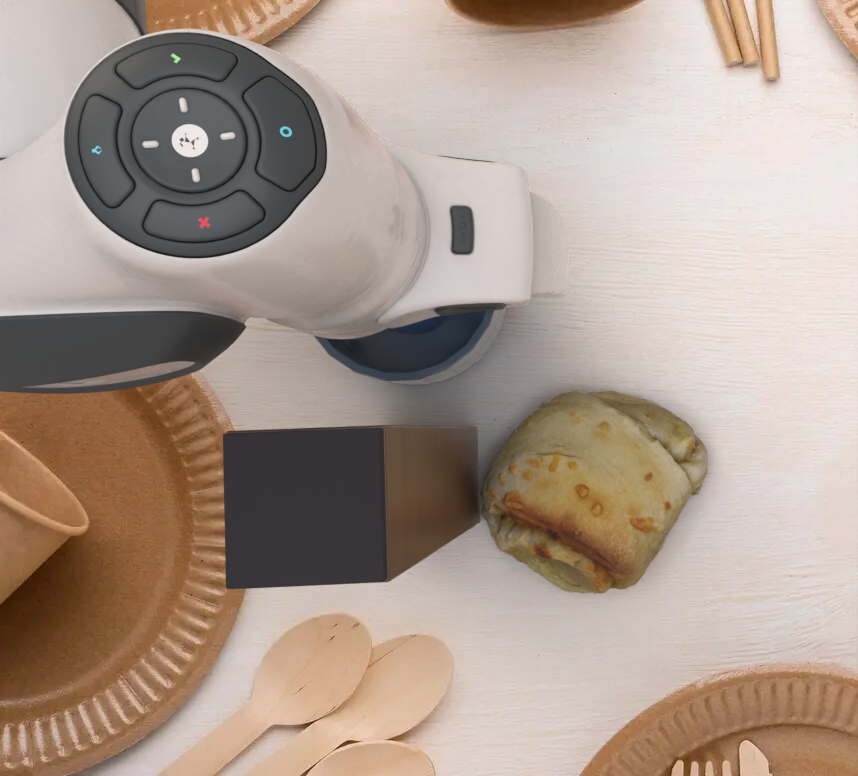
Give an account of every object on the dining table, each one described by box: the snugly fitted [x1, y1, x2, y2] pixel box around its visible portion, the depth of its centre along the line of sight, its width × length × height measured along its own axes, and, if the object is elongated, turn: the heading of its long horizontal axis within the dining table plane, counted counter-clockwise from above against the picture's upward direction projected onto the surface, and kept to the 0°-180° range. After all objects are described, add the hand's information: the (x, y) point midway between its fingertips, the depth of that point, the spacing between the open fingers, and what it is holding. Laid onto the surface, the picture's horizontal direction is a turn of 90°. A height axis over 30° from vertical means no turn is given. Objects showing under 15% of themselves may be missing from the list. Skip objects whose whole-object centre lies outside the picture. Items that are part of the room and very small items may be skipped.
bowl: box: [313, 308, 508, 386], centre depth 64 cm, size 11×11×6 cm
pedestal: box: [226, 424, 481, 590], centre depth 53 cm, size 6×6×26 cm
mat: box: [222, 428, 387, 590], centre depth 40 cm, size 6×6×1 cm
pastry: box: [479, 389, 709, 595], centre depth 63 cm, size 14×12×8 cm
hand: (398, 281), depth 61 cm, fingers closed on bottle, 5 cm apart
